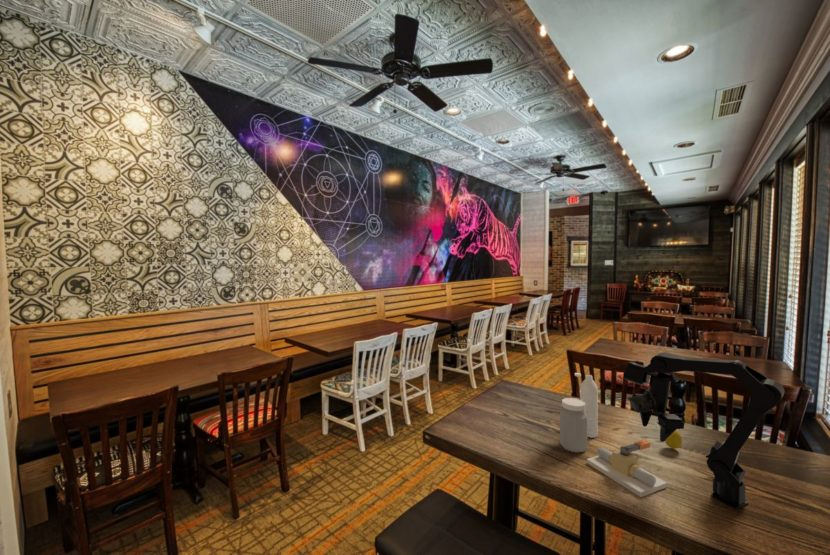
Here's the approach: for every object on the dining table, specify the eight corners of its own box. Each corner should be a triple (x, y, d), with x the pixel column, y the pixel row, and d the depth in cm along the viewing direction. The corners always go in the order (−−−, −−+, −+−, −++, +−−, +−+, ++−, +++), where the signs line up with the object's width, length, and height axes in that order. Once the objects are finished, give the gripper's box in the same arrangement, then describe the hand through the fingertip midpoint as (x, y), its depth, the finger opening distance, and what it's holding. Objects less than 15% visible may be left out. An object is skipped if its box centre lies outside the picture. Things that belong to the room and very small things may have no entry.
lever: (625, 456, 117) (625, 450, 117) (618, 452, 119) (618, 446, 119) (650, 448, 121) (650, 442, 121) (643, 444, 124) (643, 439, 124)
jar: (555, 447, 137) (555, 402, 136) (565, 438, 144) (565, 394, 143) (582, 457, 130) (581, 409, 129) (591, 446, 137) (591, 401, 136)
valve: (666, 487, 112) (667, 465, 111) (640, 497, 107) (640, 474, 107) (611, 455, 130) (611, 437, 130) (586, 462, 126) (586, 443, 126)
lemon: (685, 453, 131) (685, 432, 130) (668, 452, 132) (668, 431, 131) (677, 445, 136) (677, 425, 136) (661, 444, 137) (661, 424, 137)
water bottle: (598, 432, 148) (598, 373, 147) (597, 439, 142) (597, 378, 141) (575, 428, 152) (575, 371, 151) (573, 434, 146) (573, 375, 145)
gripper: (619, 377, 128) (614, 418, 130) (652, 402, 109) (646, 448, 111) (650, 379, 128) (644, 419, 130) (689, 404, 109) (682, 450, 111)
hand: (652, 433), depth 121 cm, fingers open, 9 cm apart
